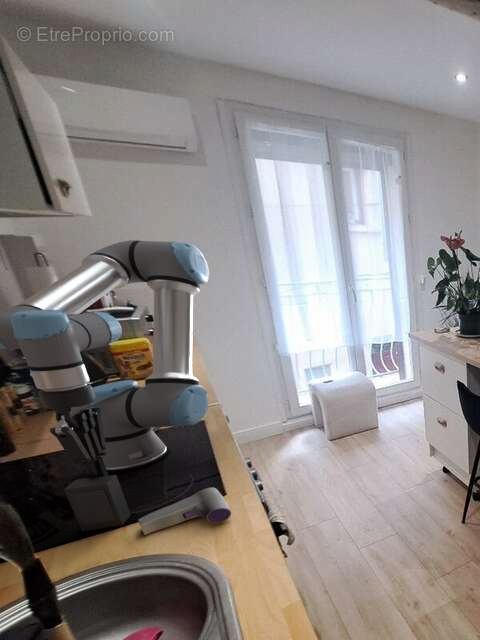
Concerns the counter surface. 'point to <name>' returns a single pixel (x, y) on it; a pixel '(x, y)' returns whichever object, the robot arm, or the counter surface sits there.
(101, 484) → the block
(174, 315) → the robot arm
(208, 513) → the infrared thermometer
